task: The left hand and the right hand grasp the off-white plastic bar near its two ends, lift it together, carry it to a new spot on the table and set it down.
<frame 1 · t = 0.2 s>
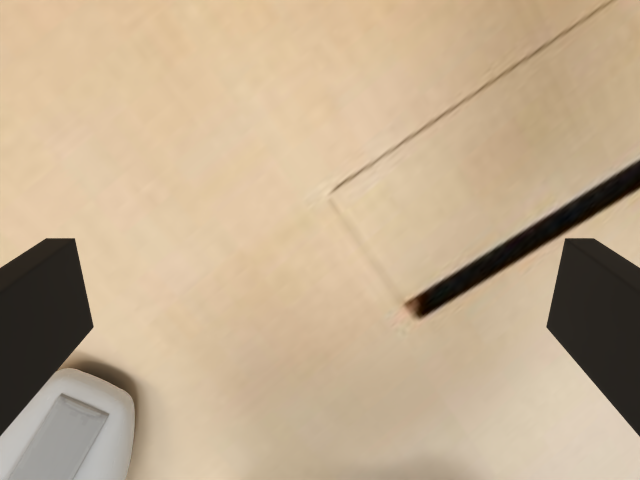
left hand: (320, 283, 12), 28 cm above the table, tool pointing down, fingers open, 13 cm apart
projector: (66, 441, 51), on the table
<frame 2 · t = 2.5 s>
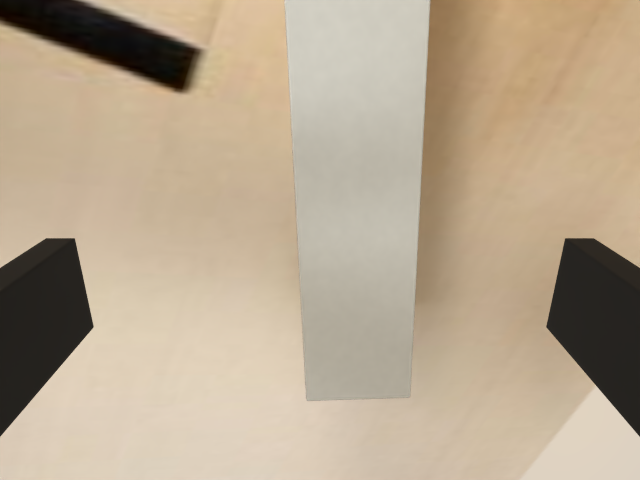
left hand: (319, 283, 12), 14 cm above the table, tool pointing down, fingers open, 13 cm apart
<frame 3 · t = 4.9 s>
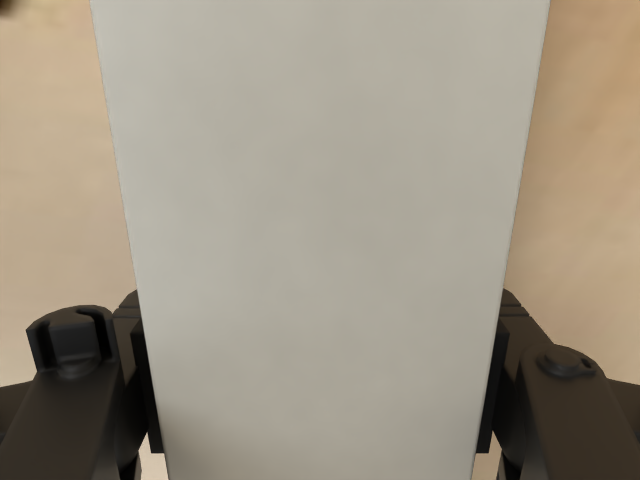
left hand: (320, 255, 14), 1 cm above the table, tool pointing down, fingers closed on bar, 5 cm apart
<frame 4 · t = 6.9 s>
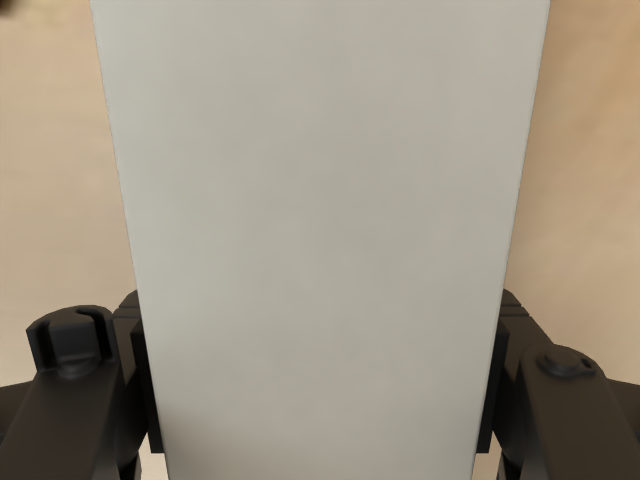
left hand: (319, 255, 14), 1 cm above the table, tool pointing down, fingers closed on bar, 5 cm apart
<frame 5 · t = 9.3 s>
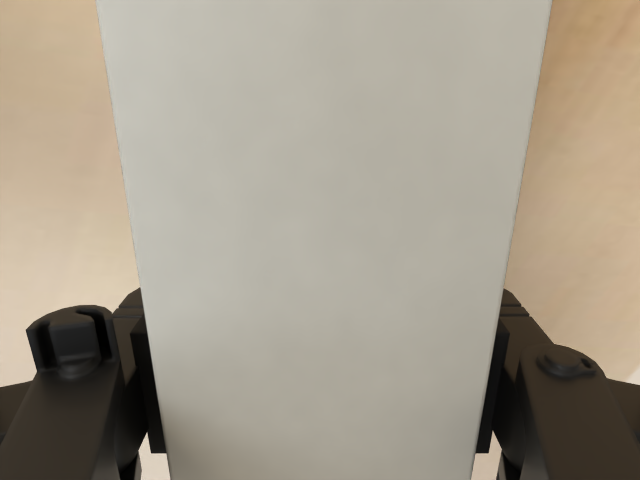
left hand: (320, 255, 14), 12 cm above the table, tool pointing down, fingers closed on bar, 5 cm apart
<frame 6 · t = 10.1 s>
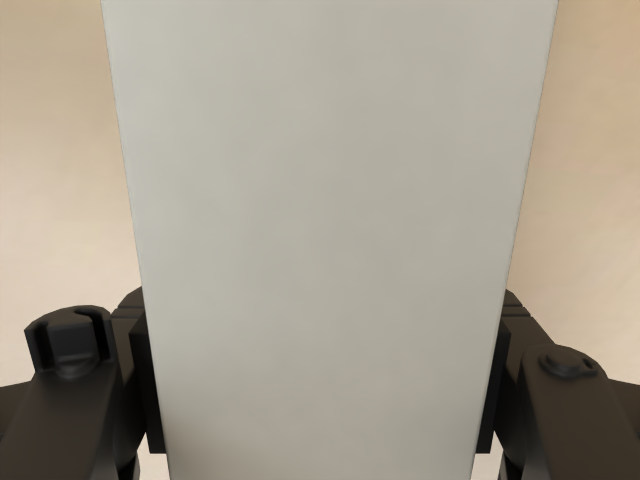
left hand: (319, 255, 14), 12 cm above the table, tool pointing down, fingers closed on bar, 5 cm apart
when the left hand's fingers open (2 cm above the table, at t = 13.6 s): bar drops 1 cm, on the table.
when the right hand's fingers open (5 cm above the table, at t = 13.8 s): bar stays where it is, on the table.
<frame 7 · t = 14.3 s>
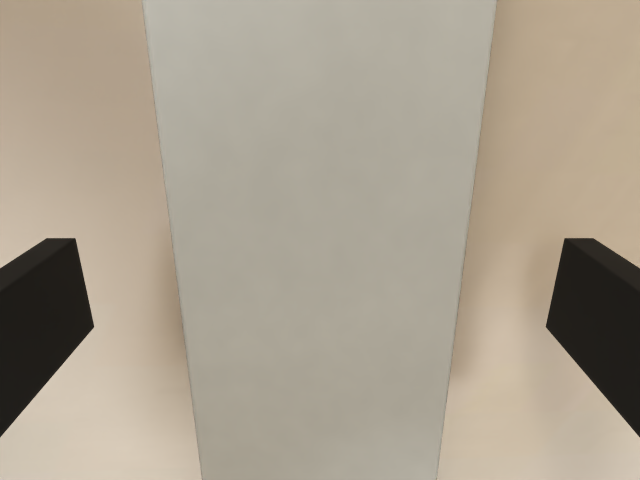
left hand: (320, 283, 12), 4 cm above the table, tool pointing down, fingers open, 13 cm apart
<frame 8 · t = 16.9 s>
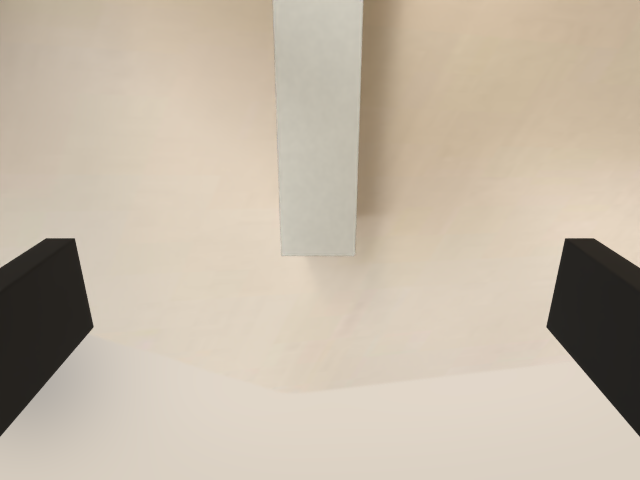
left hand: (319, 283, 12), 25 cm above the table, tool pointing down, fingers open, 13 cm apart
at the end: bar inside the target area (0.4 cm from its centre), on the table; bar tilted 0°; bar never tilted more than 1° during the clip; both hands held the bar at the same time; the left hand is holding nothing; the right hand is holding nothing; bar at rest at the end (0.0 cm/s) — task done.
